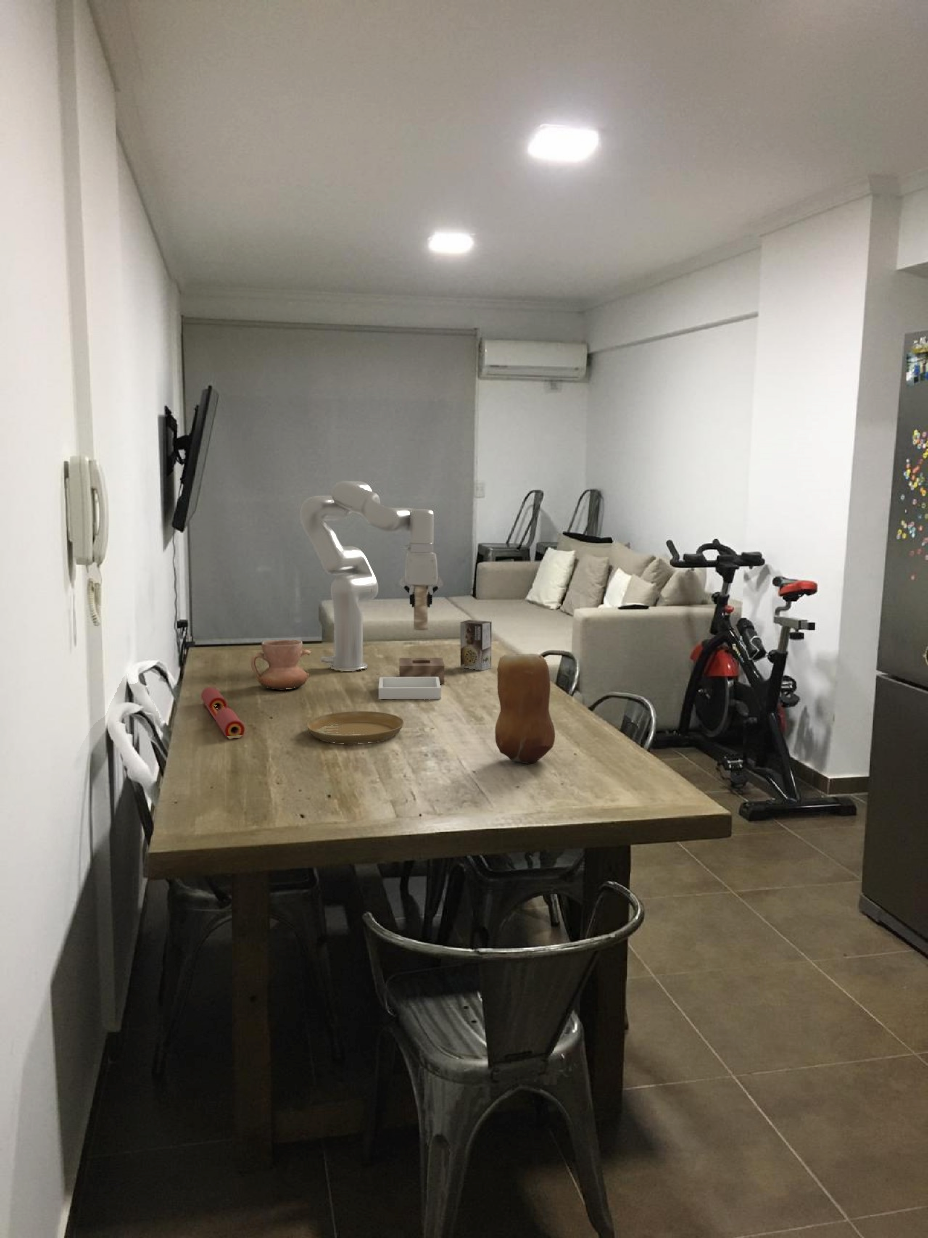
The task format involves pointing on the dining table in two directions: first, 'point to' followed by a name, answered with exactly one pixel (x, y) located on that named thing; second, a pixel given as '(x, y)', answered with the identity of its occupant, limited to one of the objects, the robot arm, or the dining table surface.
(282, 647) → the ceramic jug
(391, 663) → the dining table surface
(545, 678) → the butternut squash
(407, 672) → the socket block
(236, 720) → the blood vessel
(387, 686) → the tray
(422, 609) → the dowel
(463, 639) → the coffee box
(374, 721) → the plant saucer
